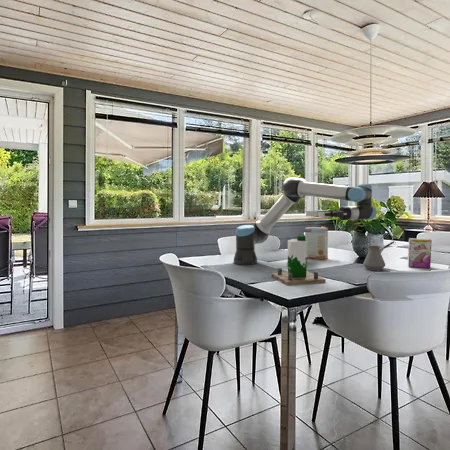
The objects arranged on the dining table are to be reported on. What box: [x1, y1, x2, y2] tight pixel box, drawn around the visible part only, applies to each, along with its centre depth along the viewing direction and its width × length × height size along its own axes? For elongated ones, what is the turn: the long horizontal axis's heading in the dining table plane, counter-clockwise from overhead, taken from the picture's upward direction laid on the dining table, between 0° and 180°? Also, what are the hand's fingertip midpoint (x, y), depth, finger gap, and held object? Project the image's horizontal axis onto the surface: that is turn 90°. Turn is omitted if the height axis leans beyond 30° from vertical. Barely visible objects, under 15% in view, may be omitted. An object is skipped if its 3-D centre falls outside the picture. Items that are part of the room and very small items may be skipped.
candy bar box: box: [407, 237, 432, 269], centre depth 204 cm, size 11×5×16 cm, turn 71°
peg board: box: [271, 267, 327, 286], centre depth 177 cm, size 20×20×4 cm
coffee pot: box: [362, 241, 397, 271], centre depth 202 cm, size 21×12×15 cm, turn 113°
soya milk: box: [287, 235, 308, 278], centre depth 177 cm, size 9×9×20 cm
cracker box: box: [304, 226, 329, 260], centre depth 238 cm, size 14×6×21 cm, turn 58°
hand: (312, 214), depth 188 cm, fingers open, 13 cm apart
